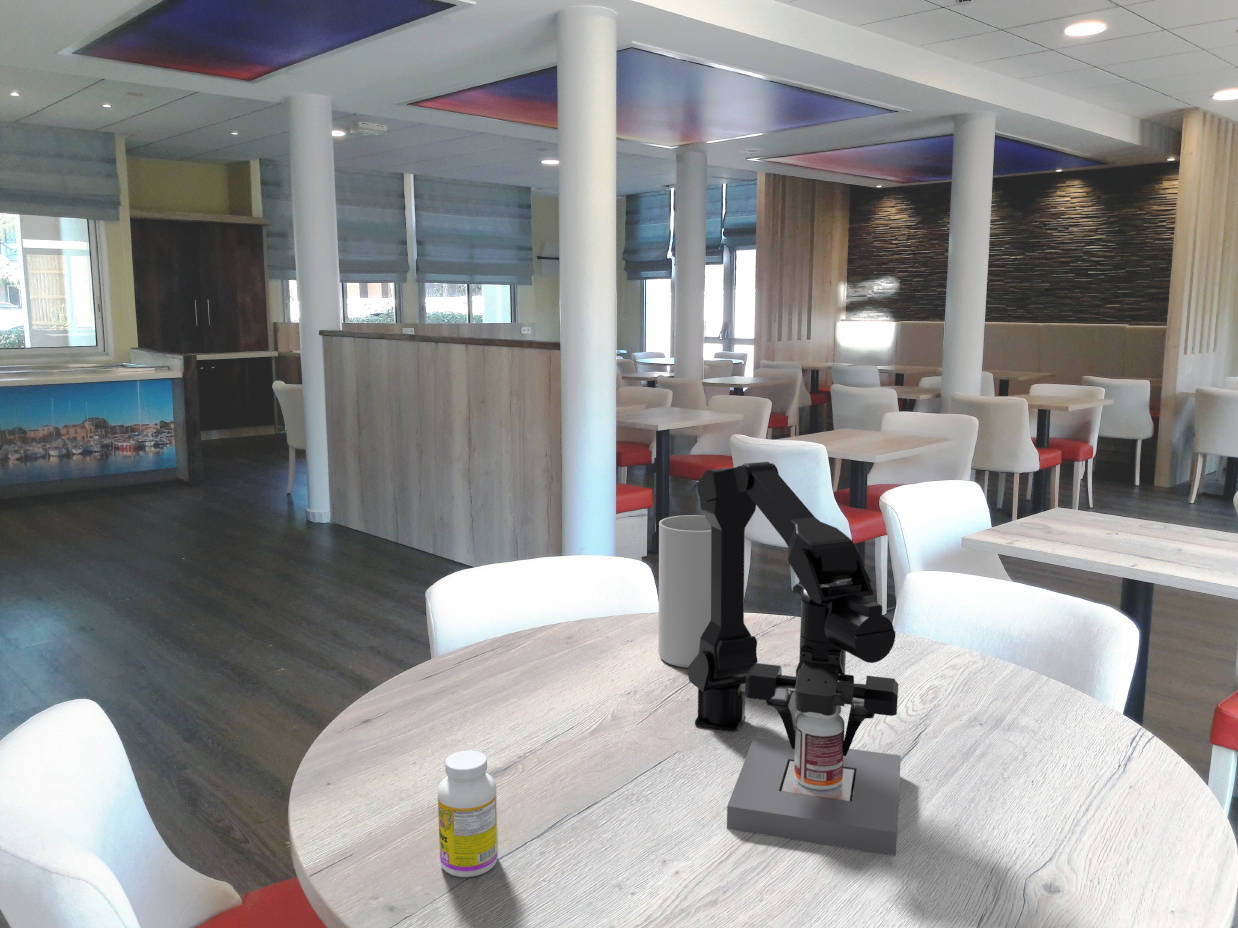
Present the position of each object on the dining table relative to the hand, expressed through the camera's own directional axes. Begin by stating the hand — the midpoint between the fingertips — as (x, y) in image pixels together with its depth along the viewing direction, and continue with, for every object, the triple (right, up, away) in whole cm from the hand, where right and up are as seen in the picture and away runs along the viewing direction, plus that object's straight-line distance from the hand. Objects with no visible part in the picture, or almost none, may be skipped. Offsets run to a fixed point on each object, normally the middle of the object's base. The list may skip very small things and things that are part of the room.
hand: (818, 751), depth 123 cm
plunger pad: (0, -7, +1) cm, 7 cm away
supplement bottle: (-43, -9, -12) cm, 46 cm away
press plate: (0, -7, +1) cm, 7 cm away
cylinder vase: (-12, +2, +51) cm, 53 cm away
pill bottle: (0, -4, +1) cm, 4 cm away
